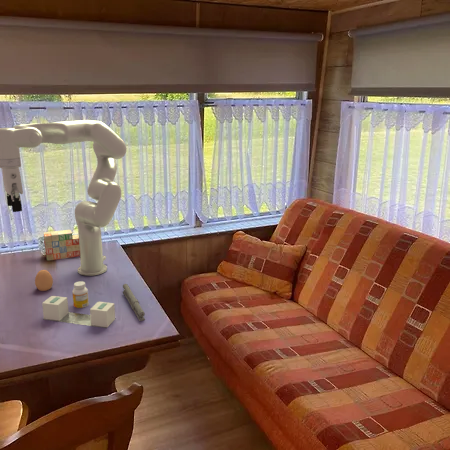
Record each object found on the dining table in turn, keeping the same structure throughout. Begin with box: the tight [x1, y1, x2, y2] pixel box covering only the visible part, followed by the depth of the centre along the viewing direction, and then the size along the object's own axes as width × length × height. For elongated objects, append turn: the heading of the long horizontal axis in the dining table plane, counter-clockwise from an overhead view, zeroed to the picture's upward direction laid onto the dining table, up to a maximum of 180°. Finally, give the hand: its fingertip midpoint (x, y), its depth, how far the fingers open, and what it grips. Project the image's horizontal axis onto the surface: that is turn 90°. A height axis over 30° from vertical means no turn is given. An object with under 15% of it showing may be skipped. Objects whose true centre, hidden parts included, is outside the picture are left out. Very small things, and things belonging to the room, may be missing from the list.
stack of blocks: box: [43, 229, 80, 261], centre depth 221 cm, size 21×6×12 cm, turn 114°
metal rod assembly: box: [122, 283, 146, 322], centre depth 172 cm, size 26×3×5 cm, turn 25°
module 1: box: [41, 295, 70, 322], centre depth 162 cm, size 6×6×6 cm
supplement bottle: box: [72, 280, 90, 309], centre depth 171 cm, size 5×5×10 cm
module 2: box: [89, 301, 116, 328], centre depth 159 cm, size 6×6×6 cm
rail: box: [43, 311, 117, 329], centre depth 161 cm, size 7×24×1 cm, turn 77°
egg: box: [34, 269, 54, 292], centre depth 183 cm, size 7×7×9 cm
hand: (14, 208), depth 172 cm, fingers open, 9 cm apart
